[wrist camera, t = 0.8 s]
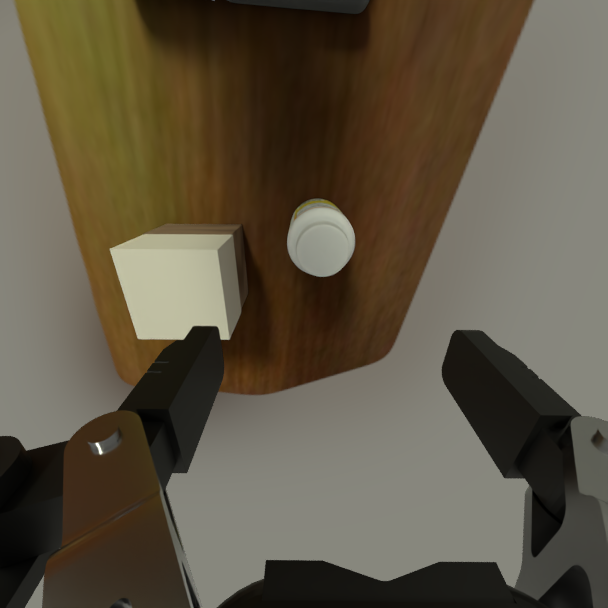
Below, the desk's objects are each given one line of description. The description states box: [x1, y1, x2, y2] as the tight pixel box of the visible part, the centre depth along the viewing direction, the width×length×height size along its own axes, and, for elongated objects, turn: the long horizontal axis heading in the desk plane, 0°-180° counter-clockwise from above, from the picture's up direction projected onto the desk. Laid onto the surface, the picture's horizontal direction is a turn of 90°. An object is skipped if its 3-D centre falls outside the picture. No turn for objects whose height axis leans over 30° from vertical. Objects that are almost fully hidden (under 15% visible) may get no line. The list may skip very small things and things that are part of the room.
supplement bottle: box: [287, 198, 355, 277], centre depth 25 cm, size 6×6×10 cm
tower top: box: [110, 234, 241, 340], centre depth 25 cm, size 8×8×5 cm
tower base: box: [143, 224, 248, 309], centre depth 29 cm, size 8×8×5 cm
